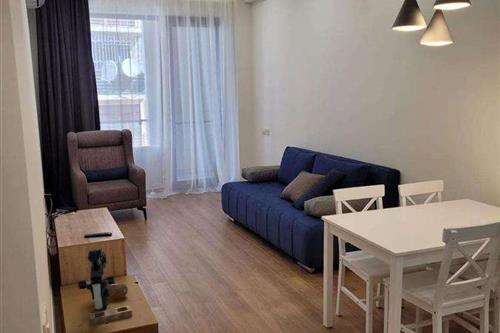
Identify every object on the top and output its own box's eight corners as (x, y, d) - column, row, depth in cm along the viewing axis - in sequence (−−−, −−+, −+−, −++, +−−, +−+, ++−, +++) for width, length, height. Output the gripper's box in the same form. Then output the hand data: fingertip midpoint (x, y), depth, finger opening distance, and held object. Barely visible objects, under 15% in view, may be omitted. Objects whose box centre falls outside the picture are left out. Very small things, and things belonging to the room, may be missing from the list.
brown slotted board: (91, 324, 243) (90, 318, 243) (90, 318, 250) (90, 313, 249) (132, 315, 251) (131, 310, 250) (130, 310, 257) (130, 304, 257)
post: (96, 306, 249) (93, 283, 247) (103, 305, 249) (100, 283, 247) (94, 309, 245) (92, 286, 243) (101, 308, 246) (99, 285, 244)
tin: (102, 299, 274) (100, 286, 273) (103, 297, 277) (102, 284, 276) (127, 297, 275) (126, 284, 274) (128, 295, 278) (127, 282, 277)
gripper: (76, 266, 245) (76, 294, 236) (112, 261, 250) (114, 288, 241) (79, 275, 254) (79, 302, 245) (114, 270, 259) (116, 296, 250)
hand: (97, 297), depth 245 cm, fingers closed on post, 4 cm apart
